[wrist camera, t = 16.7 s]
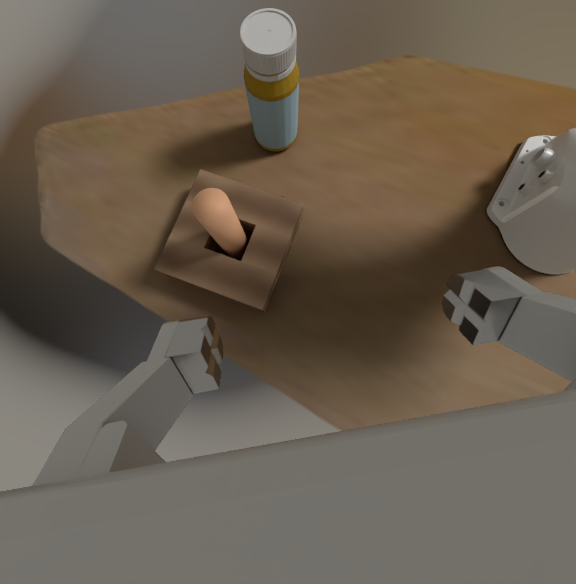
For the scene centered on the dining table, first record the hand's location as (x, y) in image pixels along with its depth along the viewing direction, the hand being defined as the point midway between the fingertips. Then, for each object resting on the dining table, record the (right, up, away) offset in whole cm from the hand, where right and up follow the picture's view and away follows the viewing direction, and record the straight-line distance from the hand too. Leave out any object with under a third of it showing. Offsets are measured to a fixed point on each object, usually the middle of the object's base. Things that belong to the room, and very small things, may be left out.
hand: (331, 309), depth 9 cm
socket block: (-10, +8, +31) cm, 33 cm away
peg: (-10, +8, +31) cm, 33 cm away
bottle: (-4, +27, +34) cm, 43 cm away
